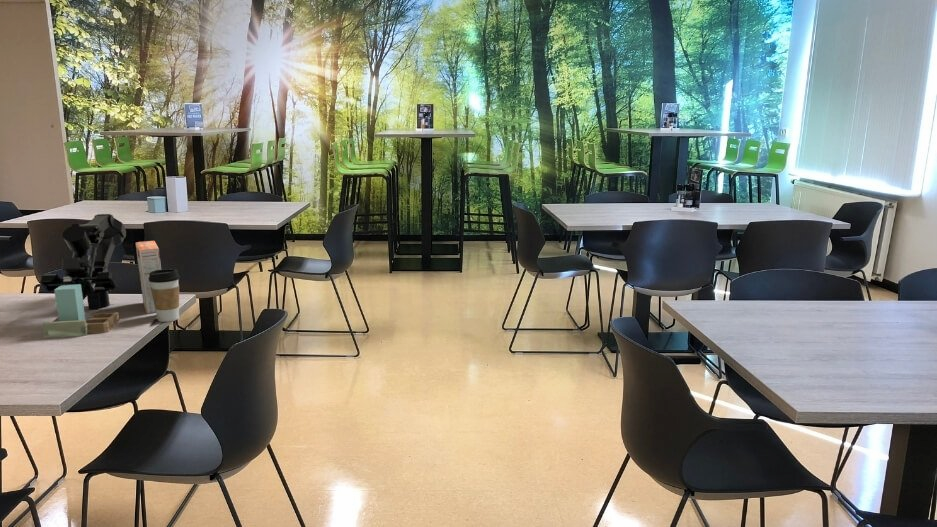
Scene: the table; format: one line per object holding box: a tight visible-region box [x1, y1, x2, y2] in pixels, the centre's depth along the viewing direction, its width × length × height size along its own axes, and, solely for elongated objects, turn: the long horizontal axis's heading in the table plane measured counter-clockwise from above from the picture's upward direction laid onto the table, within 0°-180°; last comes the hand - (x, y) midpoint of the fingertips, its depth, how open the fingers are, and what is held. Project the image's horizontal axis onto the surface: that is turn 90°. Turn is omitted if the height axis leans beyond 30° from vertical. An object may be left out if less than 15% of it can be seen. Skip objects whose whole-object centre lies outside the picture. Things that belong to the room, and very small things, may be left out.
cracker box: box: [135, 240, 162, 314], centre depth 203 cm, size 14×6×21 cm, turn 30°
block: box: [54, 284, 87, 322], centre depth 182 cm, size 5×5×12 cm
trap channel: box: [41, 311, 120, 339], centre depth 184 cm, size 14×15×5 cm
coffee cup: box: [149, 268, 180, 323], centre depth 194 cm, size 8×8×15 cm
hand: (74, 307), depth 185 cm, fingers closed, pressing on block
